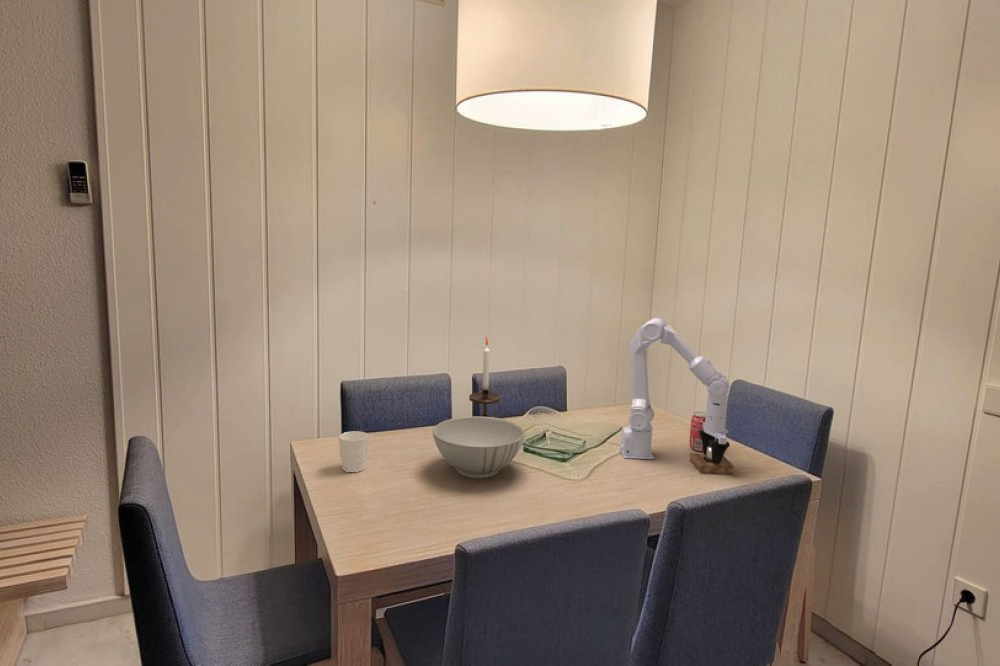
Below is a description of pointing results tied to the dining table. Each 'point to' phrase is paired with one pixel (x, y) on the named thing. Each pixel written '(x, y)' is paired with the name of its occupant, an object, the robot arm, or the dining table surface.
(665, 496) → the dining table surface
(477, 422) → the decorative bowl
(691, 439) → the soda can
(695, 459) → the hole block
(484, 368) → the candlestick
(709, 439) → the robot arm
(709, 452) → the pin
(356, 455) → the white cup
